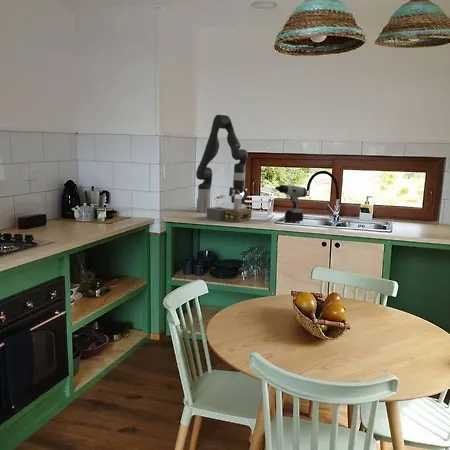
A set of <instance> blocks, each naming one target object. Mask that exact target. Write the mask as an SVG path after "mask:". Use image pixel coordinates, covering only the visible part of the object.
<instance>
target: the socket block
mask: <svg viewBox="0 0 450 450" xmlns="http://www.w3.org/2000/svg"><path fill="white" fill-rule="evenodd" d="M229 214H234V215H236V218H230V217H225V220H224V221H228V222H232V223H244V222H250V218H249V217H250V211H248V210H242V208H241V211H234V208H229V210H225V215H229ZM244 214H245V217H241V215H244ZM240 217H241V218H240Z"/></svg>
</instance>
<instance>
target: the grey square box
mask: <svg viewBox="0 0 450 450" xmlns="http://www.w3.org/2000/svg"><path fill="white" fill-rule="evenodd" d="M229 209H230V208H228V207H222V206H212V207H210V208H207V212H206V219H210V220H215V221H226V220H225V210H229Z"/></svg>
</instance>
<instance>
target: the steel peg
mask: <svg viewBox="0 0 450 450" xmlns="http://www.w3.org/2000/svg"><path fill="white" fill-rule="evenodd" d="M241 202H242V198H240V197H237V198H235V199H234V203H233V209H234V211H241V209H242V204H241ZM240 218H241V217H240Z"/></svg>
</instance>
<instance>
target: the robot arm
mask: <svg viewBox="0 0 450 450" xmlns="http://www.w3.org/2000/svg"><path fill="white" fill-rule="evenodd" d="M211 124H212V125H211V129H210V132H209V137H208V140H207V142H206V145H205V148H204V152H203V155H202V157H201V160H200V162H199V165H198V167H197V170H196V171H195V172H196V173H195V175H196V179H197V180H201V181H203V182H201V183H200V184H198V185H197V198H196V212H198V213H207V208H211V188H212V187H211V186H212V183H213V170H212V168H211V167H209V166H208V165H209V164H210V163H211V162H212V161H213V160H214V159H215V157H217V154H218V153H219V152H218V151H219V149H220V140H219V138H218V137H219V135H218V134H219V130H220V129H223V130H224V129H225V131H226V132H227V136H226V140H227V141H226V142H227V144H228V146H229V148H230V151H231V156H232V158H233V160H236V161H239V162H238V163H235V164H234V166H233V177H232V178H233V179H232V180H233V181H232V186H231V187H229V190H228V191H229V192H228V196H229V197H231V200H230V201H231V203H232V204H234V199H235V197H236V195H239V196H240V197H241V199H242V202H241V205H245V203H246V198H248V196H249V195H248V188H244V187H245V179H246V177H245V169H246V168H245V166H246V163H247V161H248V157H249V155H248V154H249V153H248V151H247V150H246V149H244V148H243V149H242V148H241V143H240V141H239V140H238V139H239V138H238V137H237V136H236V132H235V129H234V126H233V123H232V120H231V118H230V116H228V115H227V114H226V115H225V114H216V115H215V116H214V118H213V121H212V123H211Z"/></svg>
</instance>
